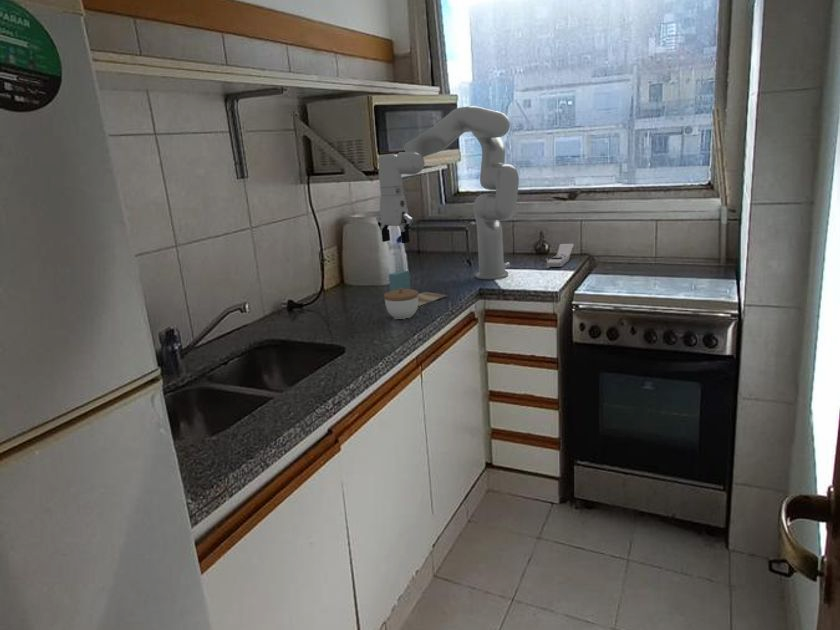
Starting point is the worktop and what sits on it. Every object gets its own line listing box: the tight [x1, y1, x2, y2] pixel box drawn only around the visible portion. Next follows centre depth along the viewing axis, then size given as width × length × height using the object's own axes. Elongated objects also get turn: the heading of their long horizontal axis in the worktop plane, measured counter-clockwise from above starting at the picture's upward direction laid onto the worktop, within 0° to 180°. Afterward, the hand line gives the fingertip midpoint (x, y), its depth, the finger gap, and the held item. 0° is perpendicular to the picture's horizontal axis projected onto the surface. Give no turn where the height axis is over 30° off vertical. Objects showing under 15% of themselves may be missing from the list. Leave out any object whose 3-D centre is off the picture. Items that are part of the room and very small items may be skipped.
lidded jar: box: [383, 288, 419, 320], centre depth 191 cm, size 11×11×9 cm
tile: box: [388, 270, 411, 291], centre depth 215 cm, size 3×7×9 cm, turn 136°
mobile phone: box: [546, 243, 574, 270], centre depth 250 cm, size 6×6×25 cm
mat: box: [418, 291, 448, 307], centre depth 210 cm, size 16×11×1 cm
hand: (395, 241), depth 211 cm, fingers open, 9 cm apart
